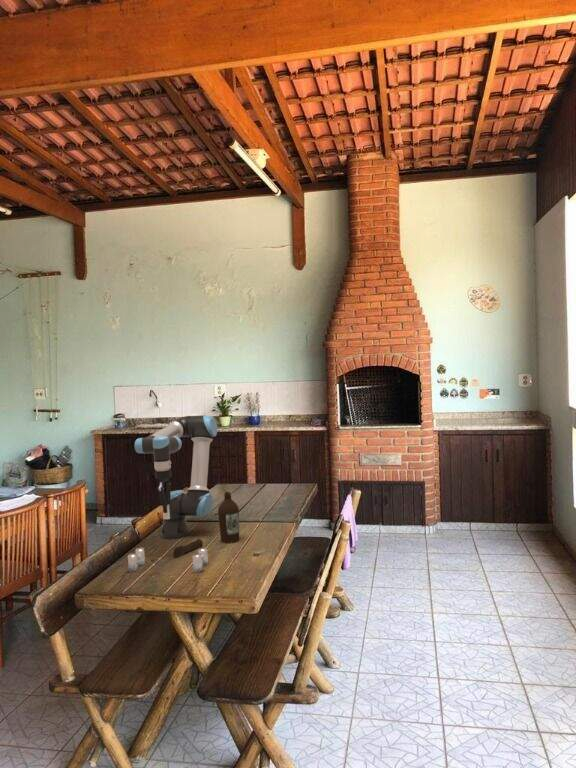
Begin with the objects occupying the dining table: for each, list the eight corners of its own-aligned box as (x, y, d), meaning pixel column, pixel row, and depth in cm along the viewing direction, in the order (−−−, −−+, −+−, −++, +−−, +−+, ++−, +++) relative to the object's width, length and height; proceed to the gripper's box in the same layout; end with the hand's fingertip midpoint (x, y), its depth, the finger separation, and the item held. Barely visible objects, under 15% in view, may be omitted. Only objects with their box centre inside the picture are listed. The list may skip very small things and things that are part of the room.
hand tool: (197, 546, 286) (196, 537, 286) (203, 547, 284) (202, 537, 284) (169, 558, 271) (169, 548, 271) (175, 559, 268) (175, 549, 268)
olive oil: (216, 540, 294) (213, 491, 293) (234, 535, 300) (231, 488, 299) (225, 544, 285) (222, 495, 284) (244, 540, 291) (241, 491, 290)
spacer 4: (200, 562, 261) (199, 547, 260) (209, 562, 260) (208, 547, 260) (197, 566, 257) (197, 550, 256) (206, 566, 256) (205, 550, 256)
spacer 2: (138, 562, 265) (137, 547, 265) (146, 562, 265) (145, 547, 265) (134, 565, 262) (133, 550, 261) (143, 565, 261) (142, 550, 261)
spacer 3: (195, 569, 253) (194, 553, 252) (203, 569, 252) (202, 553, 252) (192, 572, 249) (191, 556, 249) (201, 572, 248) (200, 556, 248)
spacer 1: (131, 568, 258) (130, 553, 257) (139, 568, 257) (138, 553, 257) (127, 572, 254) (126, 556, 253) (135, 572, 253) (134, 556, 253)
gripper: (166, 472, 262) (169, 522, 263) (175, 466, 275) (178, 514, 276) (150, 472, 263) (154, 523, 264) (160, 466, 276) (163, 514, 277)
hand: (166, 518), depth 270 cm, fingers closed
